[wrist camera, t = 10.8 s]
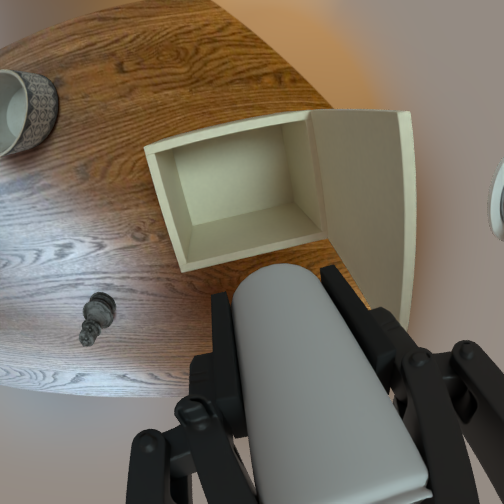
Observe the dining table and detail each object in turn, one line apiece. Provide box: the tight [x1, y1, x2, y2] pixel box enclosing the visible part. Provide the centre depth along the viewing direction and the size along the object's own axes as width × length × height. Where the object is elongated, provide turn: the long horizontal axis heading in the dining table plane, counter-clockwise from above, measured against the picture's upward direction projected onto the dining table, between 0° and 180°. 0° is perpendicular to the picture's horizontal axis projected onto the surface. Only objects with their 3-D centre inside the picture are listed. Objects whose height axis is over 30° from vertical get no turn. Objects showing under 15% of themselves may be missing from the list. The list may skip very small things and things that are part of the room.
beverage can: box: [231, 263, 433, 504], centre depth 10 cm, size 5×5×12 cm
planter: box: [0, 69, 58, 157], centre depth 31 cm, size 13×13×10 cm
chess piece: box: [79, 292, 116, 347], centre depth 46 cm, size 6×6×12 cm
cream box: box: [144, 110, 328, 273], centre depth 39 cm, size 18×15×14 cm
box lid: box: [311, 109, 416, 332], centre depth 24 cm, size 19×15×1 cm
